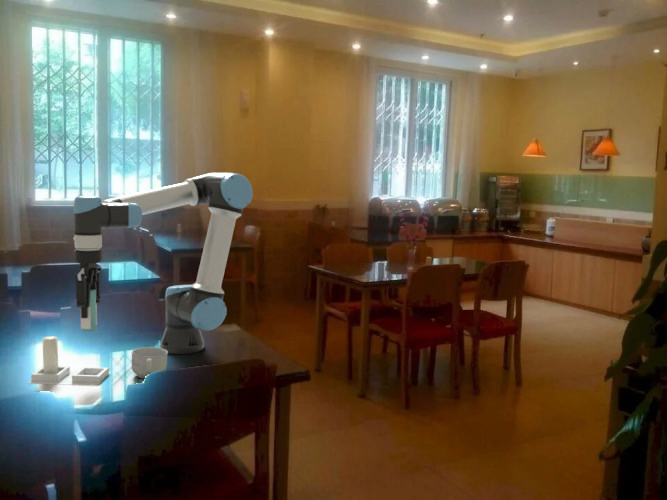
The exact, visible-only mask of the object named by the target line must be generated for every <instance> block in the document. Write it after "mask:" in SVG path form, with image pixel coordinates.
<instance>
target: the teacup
mask: <svg viewBox="0 0 667 500" xmlns="http://www.w3.org/2000/svg"><path fill="white" fill-rule="evenodd" d="M168 354H169V353H168V351H167V350H165V349H162V348H161V347H153V346H151V347H150V346H149V347H145V346H144V347H138V348H135V349H132V351H131V371H132V372H133V373H134V374H135V375H136V376H137V377H138V378H140V379H146V378H145V376H147V375H148V374H151V373H153V372H157V371H163V370H165V371H166V369H167V364H168V363H167V362H168Z"/></svg>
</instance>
